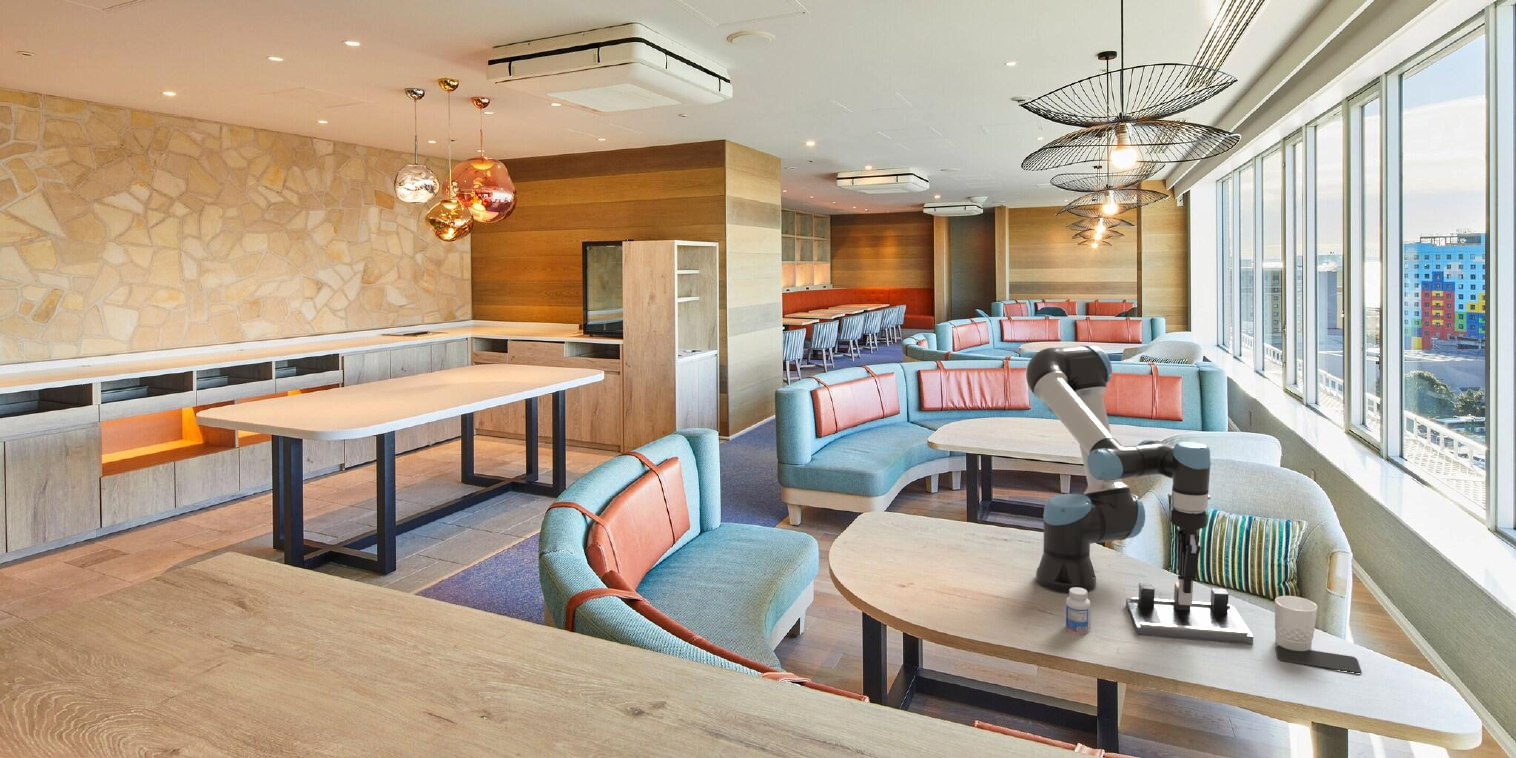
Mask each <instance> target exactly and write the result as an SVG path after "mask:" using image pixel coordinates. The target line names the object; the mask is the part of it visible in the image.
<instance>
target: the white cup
mask: <svg viewBox="0 0 1516 758" xmlns="http://www.w3.org/2000/svg"><path fill="white" fill-rule="evenodd" d="M1317 613H1318V605H1317V604H1316V603H1315V602H1314V601H1311V600H1310V599H1307V598H1303V597H1300V596H1293V595H1281V596H1276V597H1275V599H1274V631H1275V637H1274V638H1275V639H1274V641H1275V643H1276V644H1277V645H1276V646H1278V645H1280V646H1282V647H1283V648H1286V649H1290V650H1295V651H1307V650H1312V645H1313V644H1312V643H1313V639H1314V634H1315V629H1316V621H1317Z"/></svg>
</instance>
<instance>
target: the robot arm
mask: <svg viewBox="0 0 1516 758" xmlns="http://www.w3.org/2000/svg"><path fill="white" fill-rule="evenodd" d="M1111 363H1112V362H1111V360H1110V357H1109V356H1108V354H1107V353H1106V352H1105V351H1104V350H1103V349H1101V348H1100V347H1099V346H1096V345H1085V344H1080V345H1073V346H1063V347H1062V346H1061V347H1048V348H1044V349H1042V350H1038V352H1036V353H1035V354H1034V355H1032V357H1031V358H1030V360H1029V362H1028V364H1027V366H1026V371H1025V372H1026V373H1025V378H1026V382H1027V386H1028V387H1029V390H1030V391H1031V393H1032V394H1033V395H1034V396H1035V397H1036V399H1038V400H1039V401H1042V402H1044V403H1045V404H1046V405H1047V406H1048V407H1049V408H1050V410H1051V411H1052V413H1054V415H1055V416H1056V418H1058V419H1059V421H1060V422H1061V424H1063V426H1064V427H1065V428H1066V429H1067V431H1068V432H1069V433H1070V434H1071V435H1072V437H1073V438H1074V439H1075V440H1076V441H1077V442H1078V444H1079V448H1080V454H1081V458H1082V463H1083V467H1084V473H1085V477H1086V482H1087V488H1086V490H1085V491H1084V493H1083V494H1081V493H1072V494H1071V493H1061V494H1056V495H1053V496H1052V497H1050V498H1049V499H1048V500H1046V503H1044V509H1043V510H1044V511H1043V515H1042V517H1043V547H1042V549H1043V551H1042V556H1041V558H1040V562H1039V565H1038V567H1037V568H1036V572H1035V580H1037V581H1036V583H1037V584H1038V583H1039V584H1038V585H1040V586H1041V587H1042V588H1045V589H1048V590H1050V591H1052V592H1057V593H1064V594H1069V590H1070V588H1074V587H1079V588H1083V589H1085V590H1087V593H1088V592H1091V591H1093V590H1095V589H1096V586H1097V576H1096V574H1095V569H1094V567H1093V563H1092V560H1091V557H1090V553H1091V552H1090V551H1091V544H1098V543H1099V544H1100V543H1105V542H1106V543H1107V542H1112V541H1124V540H1125V541H1126V539H1132V538H1134V537H1137V536H1138V535H1139V534H1140V533H1141V532H1142V530H1143V528H1144V527H1145V523H1146V509H1145V506H1144V504H1143V503H1144V502H1142V500H1141V499H1140V497H1139V496H1138V495H1136V494H1134V493H1131V489H1130V486H1129V485H1127V484H1126V483H1124V481H1122V479H1128V478H1137V477H1146V476H1155V475H1159V476H1164V477H1166V478H1169V479H1171V480H1172V485H1171V488H1172V489H1171V506H1172V508H1171V511H1170V523H1171V524H1172V525H1174V526H1175V527H1178V528H1176V531H1175V532H1176V552H1177V553H1176V557H1177V559H1176V560H1177V566H1176V569H1177V570H1178V575H1177V578H1178V582H1179V593H1178V603H1179V605H1192V601H1193V592H1194V591H1193V589H1194V581H1196V580H1197V575H1198V574H1197V573H1198V565H1199V564H1198V563H1199V556H1200V552H1201V549H1202V548H1201V546H1200V545H1199V542H1200V535H1199V534H1198V530H1200V529H1201V530H1202V529H1205V528H1206V527H1207V525H1208V511H1207V509H1208V505H1209V504H1208V503H1209V501H1208V500H1211V495H1209V490H1210V489H1209V488H1210V472H1211V471H1210V470H1211V466H1212V462H1211V449H1210V447H1209V446H1208V445H1206V444H1205V443H1201V442H1195V441H1180V442H1179V441H1178V442H1177V443H1176V444H1174V445H1172V444H1168V443H1165V442H1163V441H1160V440H1154V439H1143V441H1141V442H1140V443H1138V444H1136V445H1127V446H1126V445H1125V446H1124V445H1122V444H1121V442H1119V441H1118V439H1116V438H1115V437H1114V435H1113V434H1112V432H1111V427H1110V424H1109V418H1108V414H1107V410H1106V404H1105V400H1104V397H1103V396H1104V394H1105V392H1106V391H1107V389H1108V388H1107V384H1108V383H1109V382H1110V381H1111V379H1112V375H1111V374H1112V373H1113V367H1112V364H1111Z"/></svg>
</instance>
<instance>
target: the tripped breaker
mask: <svg viewBox="0 0 1516 758" xmlns="http://www.w3.org/2000/svg"><path fill="white" fill-rule="evenodd" d="M1173 588H1174V590H1173V591H1174V592H1173V600H1174V606H1175V608H1176V610H1188V611H1190V605H1179V603H1178V593H1179V581H1175V582H1174V587H1173Z"/></svg>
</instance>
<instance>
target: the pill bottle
mask: <svg viewBox="0 0 1516 758" xmlns="http://www.w3.org/2000/svg"><path fill="white" fill-rule="evenodd" d="M1068 595H1069V596H1068V597H1067V598H1066V601H1065V629H1067V631H1069V632H1070V633H1073V634H1078V635H1085V634H1087V633H1089V632H1090V631H1091V601H1090V599H1089V598H1088V592H1087V590H1085V589H1083V588H1079V587H1074V588H1070V590H1069V593H1068Z"/></svg>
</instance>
